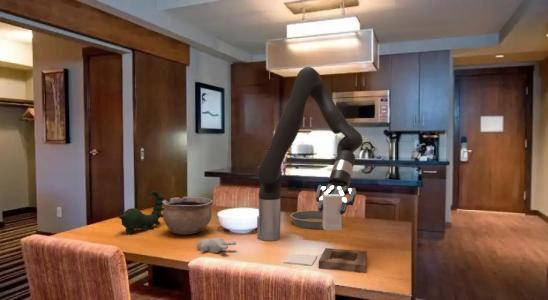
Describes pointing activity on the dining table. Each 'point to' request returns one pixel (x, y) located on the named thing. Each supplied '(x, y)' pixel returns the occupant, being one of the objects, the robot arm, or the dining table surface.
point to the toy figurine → (143, 216)
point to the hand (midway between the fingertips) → (330, 212)
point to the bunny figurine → (214, 245)
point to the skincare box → (332, 212)
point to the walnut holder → (343, 265)
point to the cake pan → (303, 219)
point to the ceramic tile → (300, 259)
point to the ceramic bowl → (187, 214)
